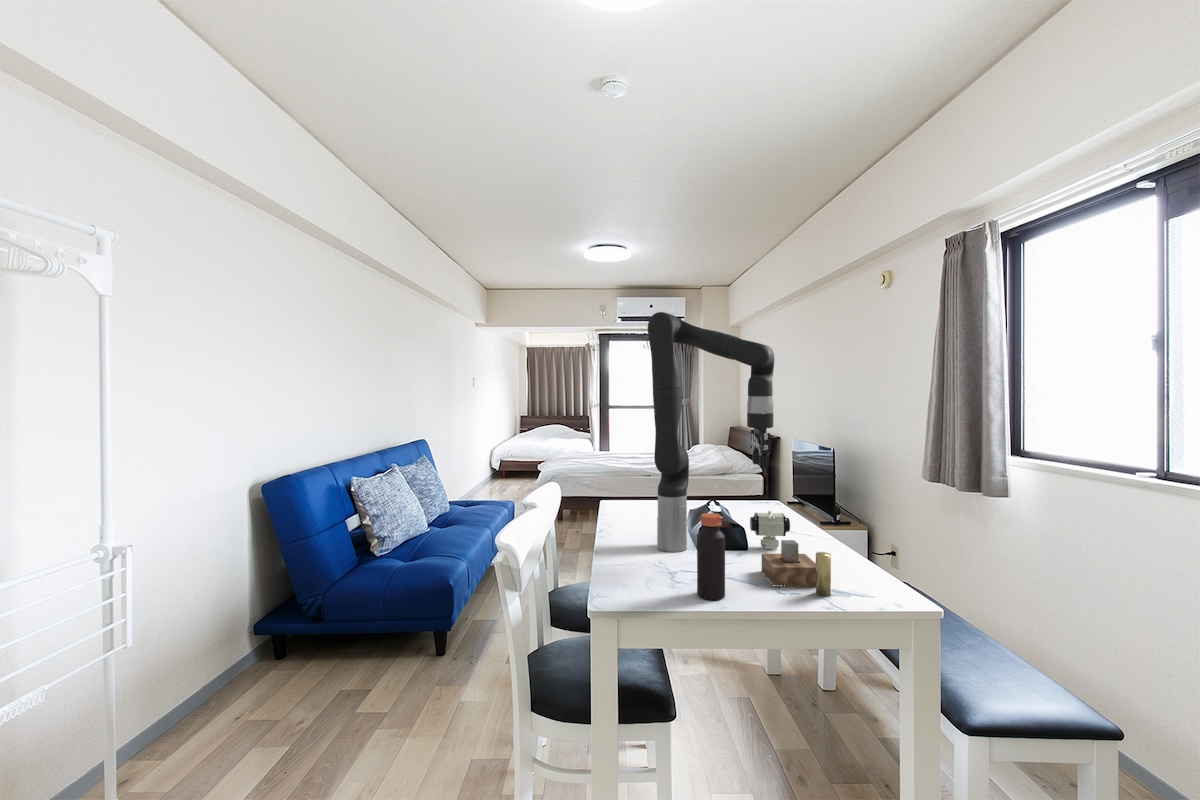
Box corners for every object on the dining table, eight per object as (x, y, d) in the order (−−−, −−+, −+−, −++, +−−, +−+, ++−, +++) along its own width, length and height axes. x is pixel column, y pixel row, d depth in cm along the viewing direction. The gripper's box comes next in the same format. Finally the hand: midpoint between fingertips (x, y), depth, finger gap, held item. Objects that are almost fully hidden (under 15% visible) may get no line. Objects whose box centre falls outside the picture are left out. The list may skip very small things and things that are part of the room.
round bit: (818, 596, 137) (818, 556, 137) (813, 591, 141) (813, 552, 141) (832, 596, 137) (833, 556, 137) (827, 591, 141) (827, 552, 141)
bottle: (691, 595, 139) (691, 514, 139) (709, 588, 143) (709, 511, 143) (712, 603, 134) (712, 520, 133) (730, 596, 138) (730, 515, 137)
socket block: (773, 586, 145) (773, 567, 144) (761, 571, 157) (761, 553, 156) (820, 586, 144) (820, 567, 144) (805, 571, 156) (805, 553, 156)
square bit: (784, 581, 149) (785, 543, 148) (781, 576, 152) (781, 540, 152) (798, 581, 148) (798, 543, 148) (794, 576, 152) (794, 540, 152)
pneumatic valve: (749, 545, 182) (749, 509, 181) (787, 547, 180) (787, 509, 180) (752, 550, 176) (752, 512, 176) (790, 552, 175) (790, 513, 174)
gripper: (742, 410, 173) (742, 463, 173) (752, 412, 159) (752, 469, 159) (766, 410, 173) (766, 463, 173) (779, 412, 158) (779, 469, 159)
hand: (760, 466), depth 166 cm, fingers open, 8 cm apart
